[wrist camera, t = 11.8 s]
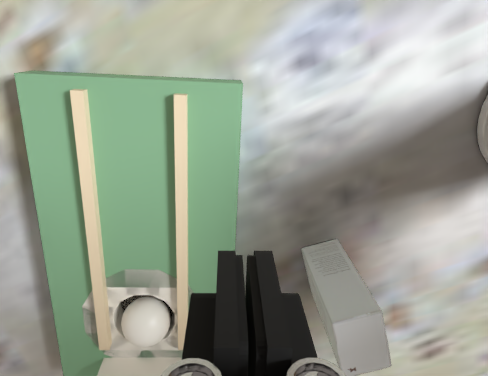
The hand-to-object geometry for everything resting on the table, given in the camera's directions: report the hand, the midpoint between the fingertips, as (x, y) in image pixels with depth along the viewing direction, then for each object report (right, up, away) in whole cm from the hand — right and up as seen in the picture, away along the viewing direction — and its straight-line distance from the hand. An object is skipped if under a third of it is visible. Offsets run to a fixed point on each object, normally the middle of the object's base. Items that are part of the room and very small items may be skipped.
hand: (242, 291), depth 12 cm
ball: (-10, -11, +27) cm, 31 cm away
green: (-10, -2, +27) cm, 29 cm away
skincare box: (+9, -5, +29) cm, 31 cm away
